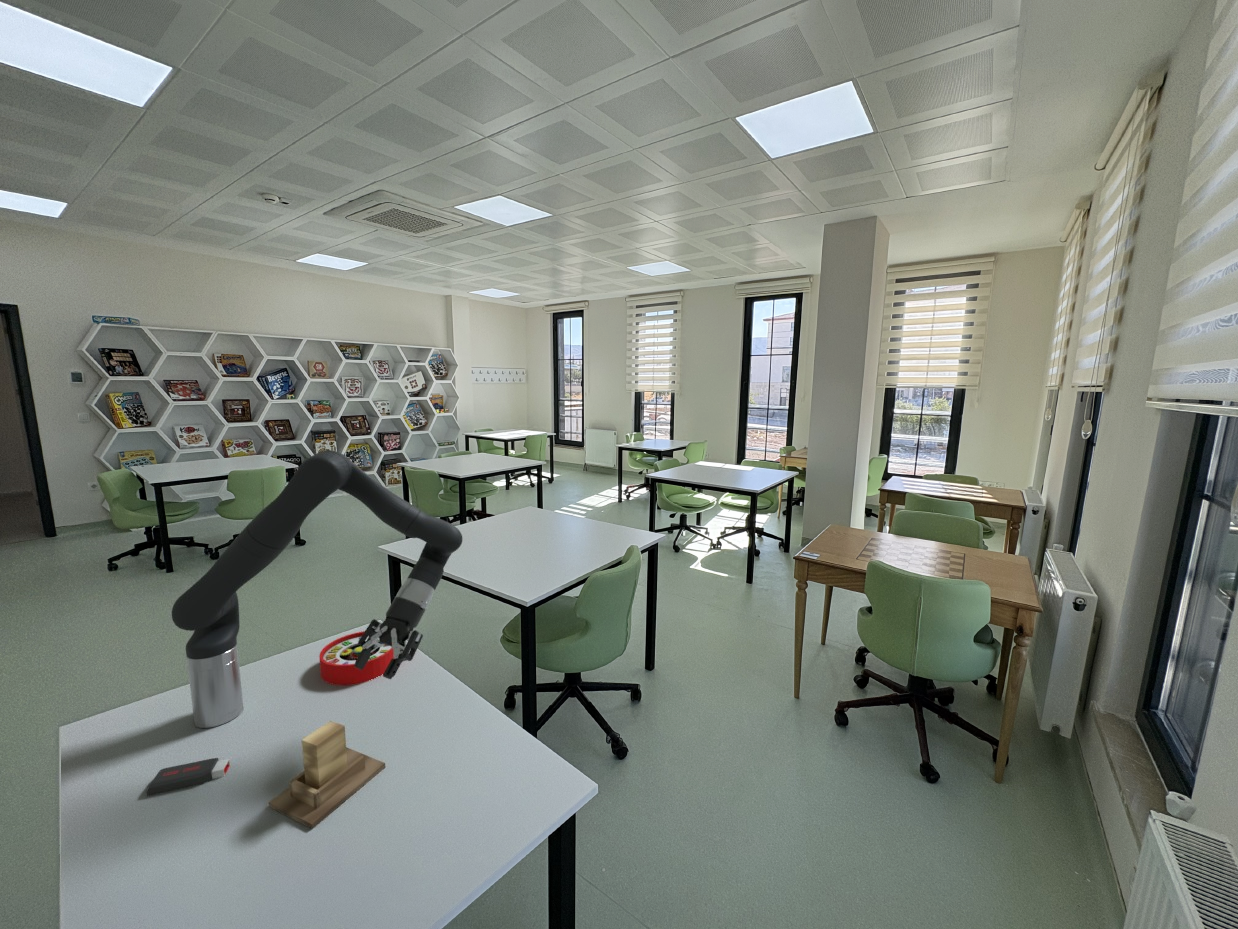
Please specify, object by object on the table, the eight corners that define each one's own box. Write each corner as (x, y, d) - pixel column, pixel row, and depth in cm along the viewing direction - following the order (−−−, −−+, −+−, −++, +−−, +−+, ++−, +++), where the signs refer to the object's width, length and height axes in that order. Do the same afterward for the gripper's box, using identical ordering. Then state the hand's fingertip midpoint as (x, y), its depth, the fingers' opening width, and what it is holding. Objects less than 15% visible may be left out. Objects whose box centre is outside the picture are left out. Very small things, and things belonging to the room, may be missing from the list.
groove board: (269, 806, 92) (267, 788, 91) (345, 750, 106) (344, 734, 106) (312, 829, 87) (310, 809, 87) (385, 767, 102) (384, 750, 101)
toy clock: (305, 651, 136) (374, 624, 153) (307, 670, 137) (375, 641, 154) (342, 674, 126) (412, 642, 142) (343, 695, 126) (412, 661, 143)
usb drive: (160, 778, 99) (159, 766, 98) (232, 763, 103) (231, 751, 102) (146, 798, 94) (145, 785, 93) (222, 781, 98) (221, 769, 98)
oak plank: (306, 791, 94) (301, 740, 93) (334, 769, 100) (330, 720, 98) (320, 797, 93) (316, 745, 91) (348, 775, 98) (344, 725, 97)
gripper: (378, 590, 113) (337, 660, 104) (425, 601, 108) (385, 676, 99) (398, 603, 119) (360, 670, 110) (443, 614, 113) (407, 686, 105)
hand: (372, 673), depth 104 cm, fingers open, 8 cm apart
